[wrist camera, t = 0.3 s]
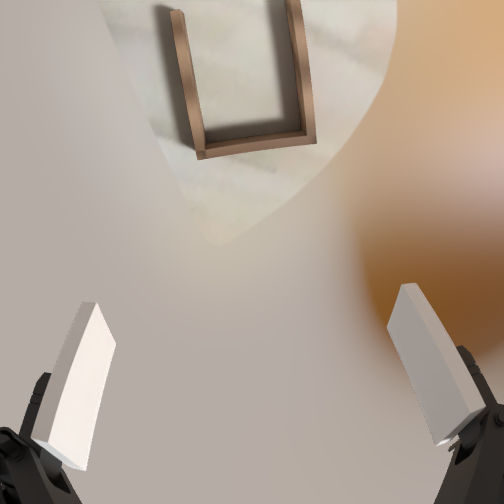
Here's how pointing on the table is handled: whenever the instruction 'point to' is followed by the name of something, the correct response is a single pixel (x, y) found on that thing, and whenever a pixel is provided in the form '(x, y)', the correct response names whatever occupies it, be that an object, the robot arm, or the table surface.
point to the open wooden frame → (260, 141)
